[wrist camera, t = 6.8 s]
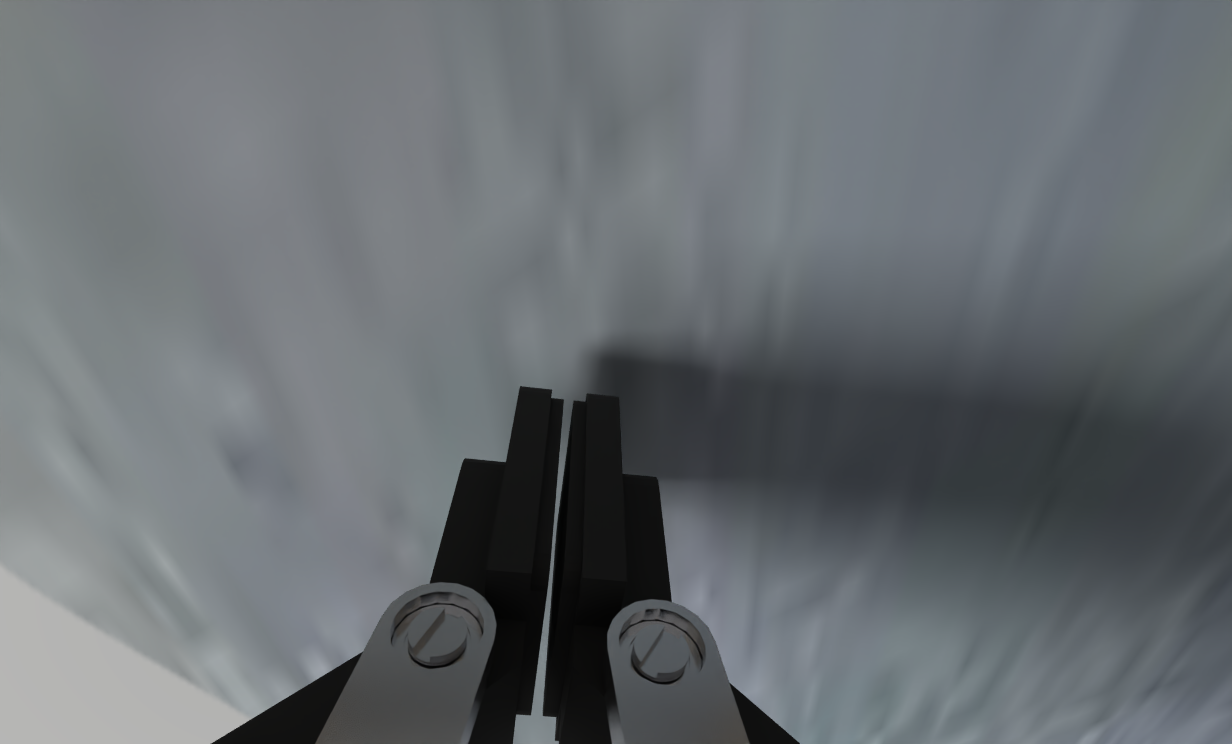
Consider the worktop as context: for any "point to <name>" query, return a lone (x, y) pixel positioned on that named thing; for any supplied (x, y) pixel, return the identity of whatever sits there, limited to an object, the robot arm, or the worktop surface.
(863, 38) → the worktop surface
